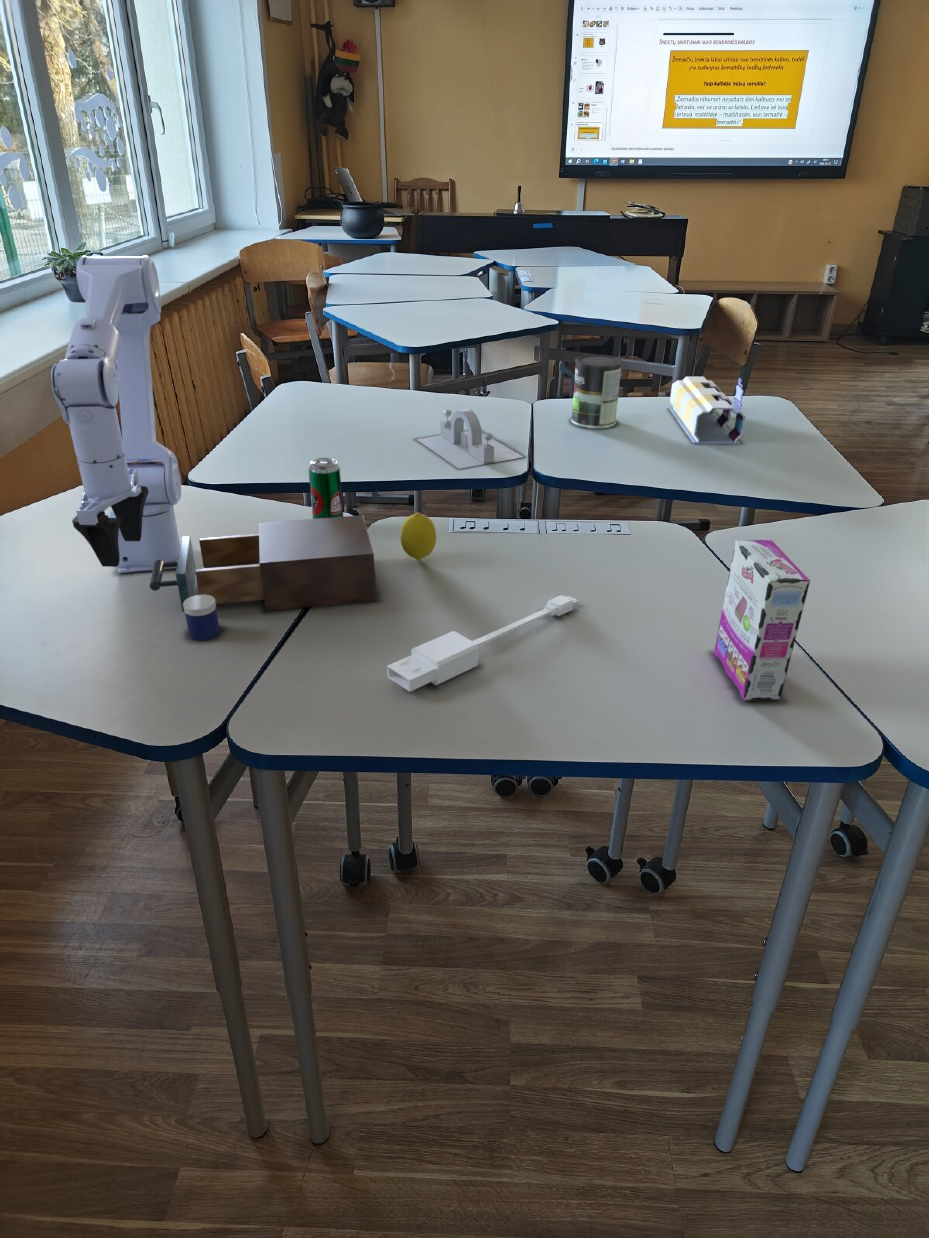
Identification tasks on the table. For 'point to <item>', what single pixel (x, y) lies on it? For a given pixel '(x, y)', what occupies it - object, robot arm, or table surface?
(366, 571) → the cabinet
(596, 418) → the coffee can
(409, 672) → the charging cable
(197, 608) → the blue jar
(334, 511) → the soda can
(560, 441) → the table surface
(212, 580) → the drawer
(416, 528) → the lemon
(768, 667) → the candy bar box
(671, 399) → the diorama
